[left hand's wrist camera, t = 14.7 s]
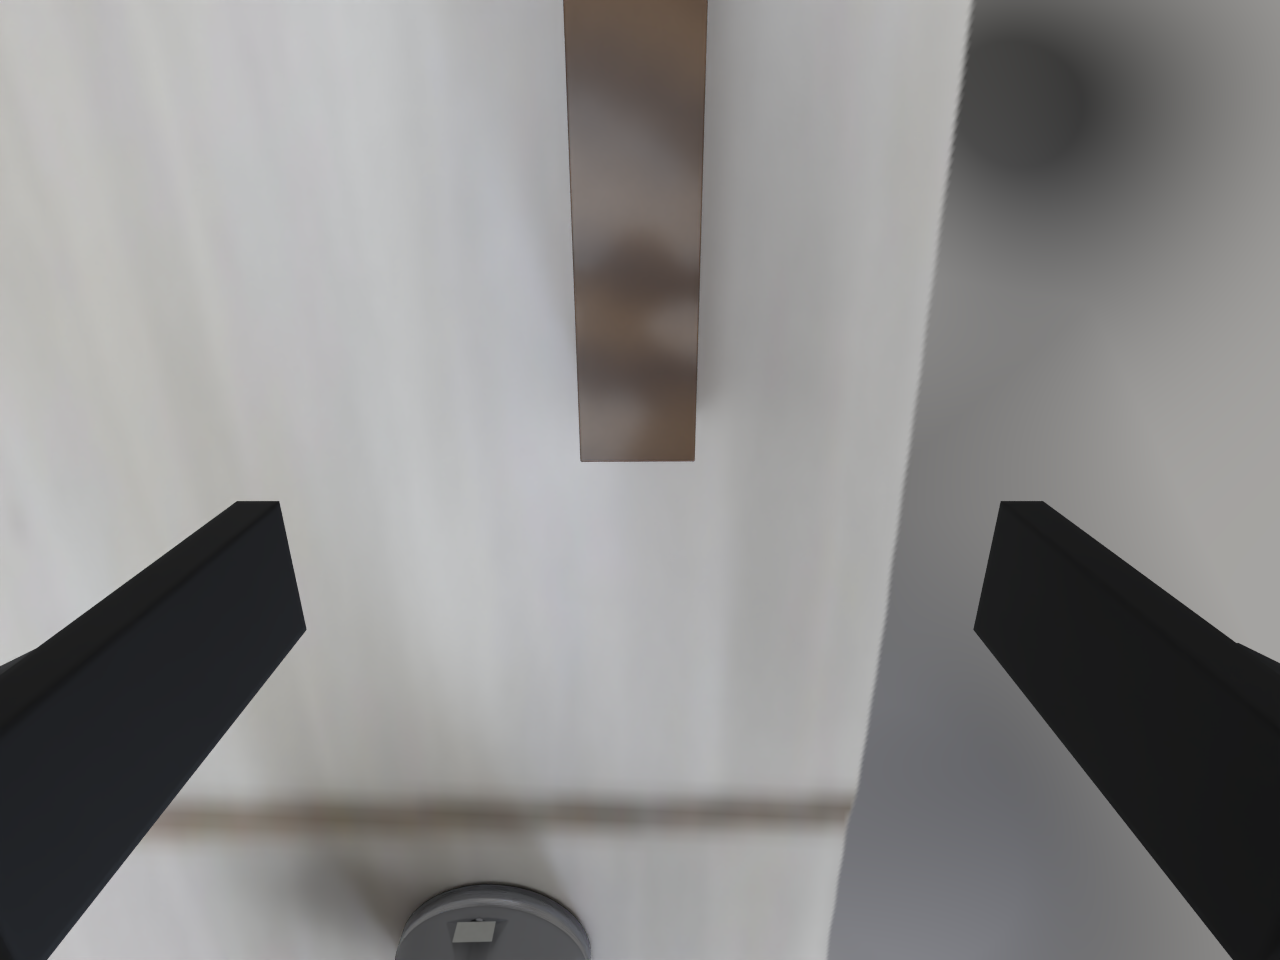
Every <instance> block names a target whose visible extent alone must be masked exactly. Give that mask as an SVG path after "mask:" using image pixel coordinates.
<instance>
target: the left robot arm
mask: <svg viewBox="0 0 1280 960" xmlns="http://www.w3.org/2000/svg"><path fill="white" fill-rule="evenodd" d="M305 631H306V625H305V620H304V616H303V611H302V606H301V602H300V597H299V592H298V587H297V583H296V578H295V573H294V569H293V564H292V559H291V555H290V550H289V545H288V540H287V536H286V531H285V526H284V522H283V517H282V512H281V508H280V503H279V501H237V502H235V503H234V504H233V505H231V506H230V507H229V508H227V509H226V510H224V511H223V512H222V513H220V514H219V515H218V516H216V517H215V518H214V519H212V520H211V521H209V522H208V523H207V524H205V525H204V526H203V527H201V528H200V529H199V530H197V531H196V532H194V533H193V534H192V535H190V536H189V537H188V538H186V539H185V540H184V541H182V542H181V543H179V544H178V545H177V546H175V547H174V548H173V549H171V550H170V551H169V552H167V553H166V554H164V555H163V556H162V557H160V558H159V559H158V560H156V561H155V562H154V563H152V564H151V565H149V566H148V567H147V568H145V569H144V570H143V571H141V572H140V573H139V574H137V575H136V576H134V577H133V578H132V579H130V580H129V581H128V582H126V583H125V584H124V585H122V586H121V587H119V588H118V589H117V590H115V591H114V592H113V593H111V594H110V595H109V596H107V597H106V598H105V599H103V600H102V601H100V602H99V603H98V604H96V605H95V606H94V607H92V608H91V609H90V610H88V611H87V612H85V613H84V614H83V615H81V616H80V617H79V618H77V619H76V620H75V621H73V622H72V623H70V624H69V625H68V626H66V627H65V628H64V629H62V630H61V631H60V632H58V633H57V634H55V635H54V636H53V637H51V638H50V639H49V640H47V641H46V642H45V643H43V644H42V645H40V646H39V647H38V648H36V649H34V650H32V651H30V652H28V653H26V654H24V655H22V656H20V657H18V658H16V659H14V660H12V661H10V662H8V663H6V664H4V665H2V666H0V960H47V959H48V958H49V957H50V955H51V954H52V953H53V952H54V950H55V949H56V948H57V946H58V945H59V944H60V943H61V941H62V940H63V939H64V938H65V936H66V935H67V934H68V932H69V931H70V930H71V929H72V927H73V926H74V925H75V924H76V922H77V921H78V920H79V918H80V917H81V916H82V915H83V913H84V912H85V911H86V910H87V908H88V907H89V906H90V904H91V903H92V902H93V901H94V899H95V898H96V897H97V896H98V894H99V893H100V892H101V890H102V889H103V888H104V887H105V885H106V884H107V883H108V882H109V880H110V879H111V878H112V876H113V875H114V874H115V873H116V871H117V870H118V869H119V868H120V866H121V865H122V864H123V862H124V861H125V860H126V859H127V857H128V856H129V855H130V854H131V852H132V851H133V850H134V849H135V847H136V846H137V845H138V843H139V842H140V841H141V840H142V838H143V837H144V836H145V835H146V833H147V832H148V831H149V829H150V828H151V827H152V826H153V824H154V823H155V822H156V821H157V819H158V818H159V817H160V815H161V814H162V813H163V812H164V810H165V809H166V808H167V807H168V805H169V804H170V803H171V801H172V800H173V799H174V798H175V796H176V795H177V794H178V793H179V791H180V790H181V789H182V787H183V786H184V785H185V784H186V782H187V781H188V780H189V779H190V777H191V776H192V775H193V773H194V772H195V771H196V770H197V768H198V767H199V766H200V765H201V763H202V762H203V761H204V759H205V758H206V757H207V756H208V754H209V753H210V752H211V751H212V749H213V748H214V747H215V745H216V744H217V743H218V742H219V740H220V739H221V738H222V737H223V735H224V734H225V733H226V731H227V730H228V729H229V728H230V726H231V725H232V724H233V723H234V721H235V720H236V719H237V717H238V716H239V715H240V714H241V712H242V711H243V710H244V709H245V707H246V706H247V705H248V704H249V702H250V701H251V700H252V698H253V697H254V696H255V695H256V693H257V692H258V691H259V690H260V688H261V687H262V686H263V684H264V683H265V682H266V681H267V679H268V678H269V677H270V676H271V674H272V673H273V672H274V670H275V669H276V668H277V667H278V665H279V664H280V663H281V662H282V660H283V659H284V658H285V656H286V655H287V654H288V653H289V651H290V650H291V649H292V648H293V646H294V645H295V644H296V642H297V641H298V640H299V639H300V637H301V636H302V635H303V634H304V632H305ZM974 631H975V632H976V633H977V635H978V636H979V637H980V639H981V640H982V641H983V642H984V644H985V645H986V646H987V648H988V649H989V650H990V651H991V653H992V654H993V655H994V656H995V658H996V659H997V660H998V661H999V663H1000V664H1001V665H1002V667H1003V668H1004V669H1005V670H1006V672H1007V673H1008V674H1009V676H1010V677H1011V678H1012V679H1013V681H1014V682H1015V683H1016V684H1017V686H1018V687H1019V688H1020V689H1021V691H1022V692H1023V693H1024V695H1025V696H1026V697H1027V698H1028V700H1029V701H1030V702H1031V703H1032V705H1033V706H1034V707H1035V709H1036V710H1037V711H1038V712H1039V714H1040V715H1041V716H1042V717H1043V719H1044V720H1045V721H1046V723H1047V724H1048V725H1049V726H1050V728H1051V729H1052V730H1053V731H1054V733H1055V734H1056V735H1057V737H1058V738H1059V739H1060V740H1061V742H1062V743H1063V744H1064V745H1065V747H1066V748H1067V749H1068V751H1069V752H1070V753H1071V754H1072V756H1073V757H1074V758H1075V759H1076V761H1077V762H1078V763H1079V764H1080V766H1081V767H1082V768H1083V770H1084V771H1085V772H1086V773H1087V775H1088V776H1089V777H1090V779H1091V780H1092V781H1093V782H1094V784H1095V785H1096V786H1097V787H1098V789H1099V790H1100V791H1101V792H1102V794H1103V795H1104V796H1105V798H1106V799H1107V800H1108V801H1109V803H1110V804H1111V805H1112V807H1113V808H1114V809H1115V810H1116V812H1117V813H1118V814H1119V815H1120V817H1121V818H1122V819H1123V821H1124V822H1125V823H1126V824H1127V826H1128V827H1129V828H1130V829H1131V831H1132V832H1133V833H1134V834H1135V836H1136V837H1137V838H1138V840H1139V841H1140V842H1141V843H1142V845H1143V846H1144V847H1145V849H1146V850H1147V851H1148V852H1149V854H1150V855H1151V856H1152V857H1153V859H1154V860H1155V861H1156V863H1157V864H1158V865H1159V866H1160V868H1161V869H1162V870H1163V871H1164V873H1165V874H1166V875H1167V876H1168V878H1169V879H1170V880H1171V882H1172V883H1173V884H1174V885H1175V887H1176V888H1177V889H1178V890H1179V892H1180V893H1181V894H1182V896H1183V897H1184V898H1185V899H1186V901H1187V902H1188V903H1189V904H1190V906H1191V907H1192V908H1193V910H1194V911H1195V912H1196V913H1197V915H1198V916H1199V917H1200V918H1201V920H1202V921H1203V922H1204V924H1205V925H1206V926H1207V927H1208V929H1209V930H1210V931H1211V932H1212V934H1213V935H1214V936H1215V938H1216V939H1217V940H1218V941H1219V943H1220V944H1221V945H1222V946H1223V948H1224V949H1225V950H1226V952H1227V953H1228V954H1229V955H1230V957H1231V958H1232V959H1233V960H1280V663H1278V662H1276V661H1274V660H1272V659H1270V658H1268V657H1266V656H1264V655H1262V654H1260V653H1258V652H1256V651H1254V650H1252V649H1250V648H1248V647H1246V646H1243V645H1241V644H1239V643H1235V642H1234V641H1233V640H1231V639H1230V638H1229V637H1227V636H1226V635H1225V634H1223V633H1222V632H1220V631H1219V630H1218V629H1216V628H1215V627H1214V626H1212V625H1211V624H1209V623H1208V622H1207V621H1205V620H1204V619H1203V618H1201V617H1200V616H1199V615H1197V614H1196V613H1195V612H1193V611H1192V610H1190V609H1189V608H1188V607H1186V606H1185V605H1184V604H1182V603H1181V602H1180V601H1178V600H1177V599H1175V598H1174V597H1173V596H1171V595H1170V594H1169V593H1167V592H1166V591H1165V590H1163V589H1162V588H1161V587H1159V586H1158V585H1156V584H1155V583H1154V582H1152V581H1151V580H1150V579H1148V578H1147V577H1146V576H1144V575H1143V574H1141V573H1140V572H1139V571H1137V570H1136V569H1135V568H1133V567H1132V566H1131V565H1129V564H1128V563H1126V562H1125V561H1124V560H1122V559H1121V558H1120V557H1118V556H1117V555H1116V554H1114V553H1113V552H1111V551H1110V550H1109V549H1107V548H1106V547H1105V546H1103V545H1102V544H1101V543H1099V542H1098V541H1096V540H1095V539H1094V538H1092V537H1091V536H1090V535H1088V534H1087V533H1086V532H1084V531H1083V530H1081V529H1080V528H1079V527H1077V526H1076V525H1075V524H1073V523H1072V522H1071V521H1069V520H1068V519H1066V518H1065V517H1064V516H1062V515H1061V514H1060V513H1058V512H1057V511H1056V510H1054V509H1053V508H1051V507H1050V506H1049V505H1047V504H1046V503H1045V502H1043V501H1001V503H1000V508H999V512H998V517H997V522H996V526H995V531H994V536H993V541H992V545H991V550H990V555H989V559H988V564H987V569H986V573H985V578H984V583H983V587H982V592H981V597H980V602H979V606H978V611H977V616H976V620H975V625H974ZM590 956H591V952H590V944H589V940H588V937H587V934H586V932H585V930H584V929H583V927H582V926H581V924H580V923H579V921H578V920H577V919H576V918H575V917H574V916H573V915H572V914H571V913H570V912H569V911H568V910H566V909H565V908H564V907H563V906H561V905H559V904H558V903H556V902H555V901H553V900H551V899H549V898H547V897H545V896H543V895H541V894H538V893H535V892H532V891H529V890H526V889H522V888H517V887H512V886H505V885H473V886H466V887H461V888H457V889H453V890H450V891H447V892H444V893H442V894H439V895H437V896H435V897H433V898H431V899H430V900H428V901H427V902H425V903H424V904H423V905H421V906H420V907H419V908H418V909H417V910H416V911H415V912H414V913H413V914H412V916H411V917H410V918H409V920H408V922H407V923H406V925H405V928H404V930H403V933H402V937H401V940H400V943H399V946H398V949H397V952H396V956H395V960H590Z"/></svg>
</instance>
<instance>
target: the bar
mask: <svg viewBox="0 0 1280 960" xmlns="http://www.w3.org/2000/svg"><path fill="white" fill-rule="evenodd" d="M707 4H708V0H563V7H564V33H565V60H566V87H567V113H568V140H569V167H570V193H571V220H572V247H573V274H574V300H575V327H576V354H577V380H578V407H579V434H580V460H581V462H643V461H694V460H695V428H696V393H697V357H698V322H699V287H700V251H701V216H702V181H703V145H704V110H705V75H706V39H707Z"/></svg>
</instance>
